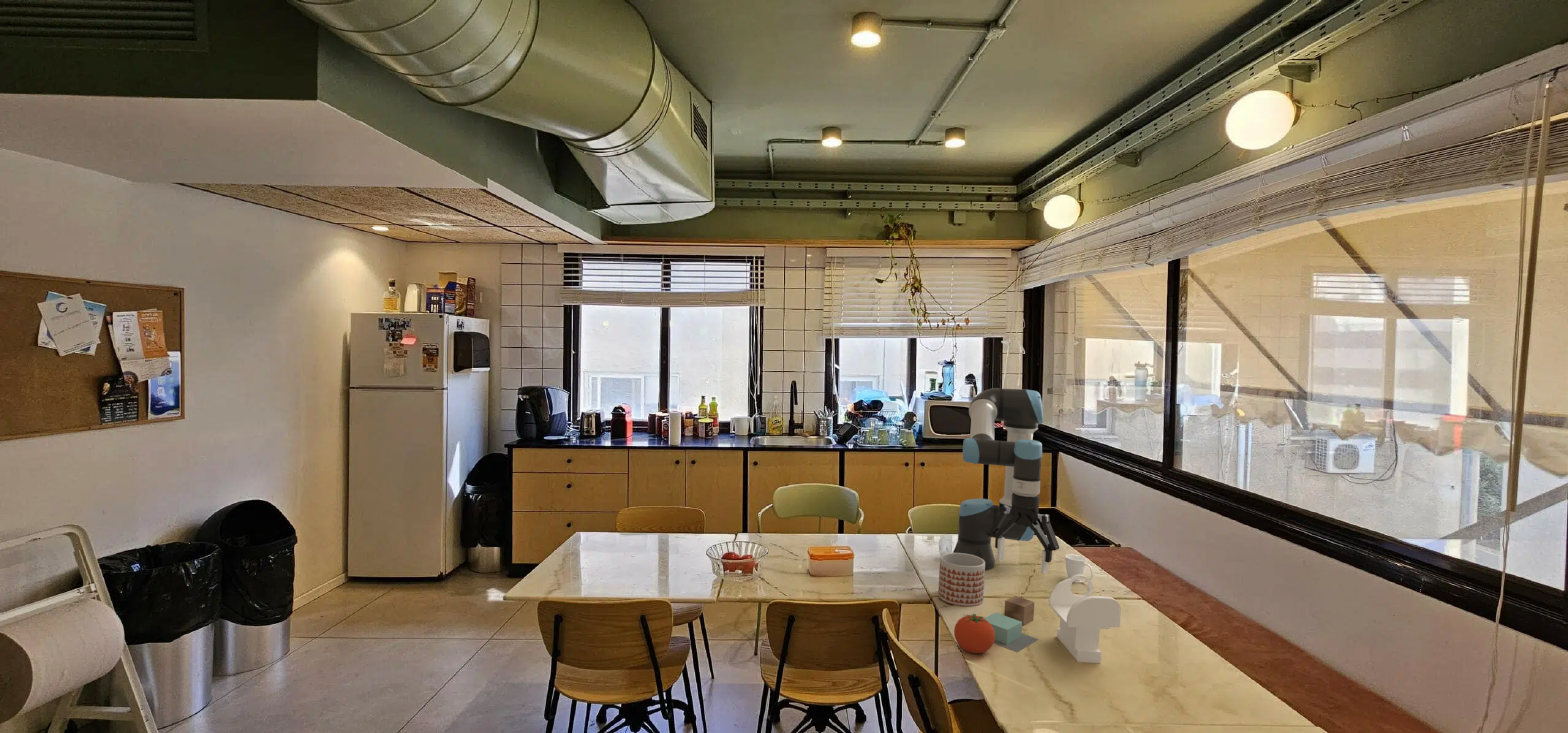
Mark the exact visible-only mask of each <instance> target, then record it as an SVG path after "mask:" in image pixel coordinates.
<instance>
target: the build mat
mask: <svg viewBox="0 0 1568 733" xmlns="http://www.w3.org/2000/svg"><path fill="white" fill-rule="evenodd" d="M1037 641H1039V638H1035V637H1034V636H1031V635H1028V634H1025V633H1022V635H1021V637H1019V638H1018V639H1016V640H1014V641H1012V642H1010V643H1009V644H1004V643H1002V642H999V641H996V640H994V643H993V645H994V644H995V645H997V646H999V647H1003V648H1005V649H1007V650H1010V651H1013V652H1015V653H1019V652H1020V651H1022V650H1023V649H1025V648H1027V647H1029V646H1031V645H1032V644H1034V643H1035V642H1037Z"/></svg>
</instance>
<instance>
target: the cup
mask: <svg viewBox="0 0 1568 733" xmlns="http://www.w3.org/2000/svg"><path fill="white" fill-rule="evenodd" d="M1064 557H1065V558H1064V559H1065V568H1066V574H1067V577H1068V578H1067V579H1070V578H1071V577H1072V576H1074V575H1078V574H1080V575H1084V572H1085V569H1086V566H1087V567H1088V568H1089V569H1090V573H1091V574H1090V575H1091V576H1090V577H1089V579H1090V581H1091V580H1092V579H1093V578H1094V569H1093V567H1092V565H1091V564H1089V563H1087V558H1086V557H1084V556H1083V555H1079V554H1078V555H1077V554H1066V555H1065V556H1064ZM1073 583H1077V584H1078V583H1079V584H1085V583H1087V581H1086V580H1084V581H1082V579H1076V580H1075V581H1073Z"/></svg>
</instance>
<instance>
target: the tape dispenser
mask: <svg viewBox="0 0 1568 733" xmlns="http://www.w3.org/2000/svg"><path fill="white" fill-rule="evenodd" d="M1076 579H1080V580H1084V581H1087V582H1086V583H1087V586H1088V588H1087V590H1086V592H1085V593H1084V594H1080V595H1077V594H1074V592H1073V591H1072V585H1073V583H1074V582H1073V581H1075V580H1076ZM1093 588H1094V585H1093V583H1092V581H1091V580H1090V577H1087V576H1086V575H1084V574H1083V575H1080V574H1078V575H1074V576H1072V577H1071V578H1070V579H1068V578H1065V579H1063V580H1061V581H1060V582H1057V584H1056V585H1055V586H1054V587H1053V588H1052V589H1051V591H1050V593H1049V598H1048V604H1047V605H1048V606H1049V607H1050V608H1051V610H1053V612H1054V613H1055V614H1056V615H1057V616H1058V618H1059V627H1057V629H1056V637H1057V638H1058V639H1059V641H1060V642H1061V643H1062V644H1063V645H1064V646H1065V648H1066V649H1067V651H1069V653H1070V654H1071V655H1072V656H1073V657H1074V658H1075V661H1076V663H1093V664H1101V663H1102V662H1101V660H1102V651H1101V650H1100V649H1099V646H1100V645H1099V644H1100V631H1101V630H1100V629H1103V630H1104V629H1105V630H1108V629H1109V628H1120V627H1121V613H1122V612H1121V609H1122V608H1121V605H1120V604H1119V602H1118V601H1117V600H1116V599H1114V598H1113V597H1111V596H1105V595H1091V594H1092V593H1093Z"/></svg>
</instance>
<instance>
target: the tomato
mask: <svg viewBox="0 0 1568 733" xmlns="http://www.w3.org/2000/svg"><path fill="white" fill-rule="evenodd" d="M984 618H985V617H983V616H979V615H977V613H972V614H967V615H964V616H962V617H961V618H959V619H958V620H957V622H956V624H955V625H954V630H953V631H954V635H953V636H954V639H955V642H956V643H957V644H958V645H959V646H960V648H962V649H963V650H965V651H966V652H967V653H971V654H983V653H985V652H987V651H989V650H990V649H991V648H992V647H993V645H994V640H995V633H994V629H993V627H992V625H991V624H990V623H989V622H988V621H987V620H986V619H984Z"/></svg>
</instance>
